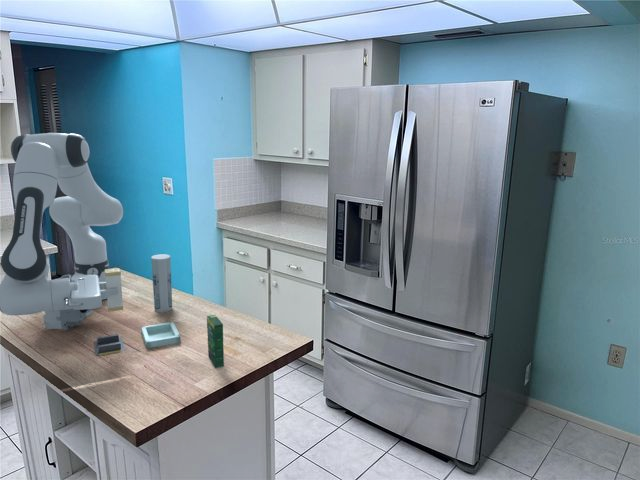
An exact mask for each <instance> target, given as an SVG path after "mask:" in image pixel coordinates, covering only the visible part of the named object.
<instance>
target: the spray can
mask: <svg viewBox="0 0 640 480" xmlns="http://www.w3.org/2000/svg"><path fill="white" fill-rule="evenodd" d="M150 258H151V260H150V261H151V272H152V273H151V275H152V288H153V289H152V290H153V303H154V304H153V305H154V311H156V312H159V313H166V312H169V311H172V309H173V291H172V288H173V287H172V268H171V267H172V266H171V265H172V264H171V263H172V262H171V255H170V254H166V253H165V254H161V253H160V254H159V253H158V254H154V255H152V256H151V257H150Z"/></svg>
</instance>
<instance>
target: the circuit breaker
mask: <svg viewBox="0 0 640 480" xmlns="http://www.w3.org/2000/svg"><path fill="white" fill-rule="evenodd" d="M56 279H59V277H58V278H55V279H54V280H56ZM92 314H94V311H93V309H84V310H74V309H73V308H72V309H67V310H60V311H44V315H42V319H43V325H44V330H47V329H48V330H54V329H55V330H62V331H63V330H64V331H68V330H69V329H71V328H72V327H77V326H78V324H79V325H80V324H82V323H83V320H84V319H85V318H87V317H89V316H91V315H92Z"/></svg>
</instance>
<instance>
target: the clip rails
mask: <svg viewBox="0 0 640 480" xmlns="http://www.w3.org/2000/svg"><path fill="white" fill-rule="evenodd" d="M96 338H97V339H96V340H95V341H93V346H94V355H95V357H98V356H103V355H109V354H114V353H116V354H117V353H121V352H125V351H126V349H125V345H124V341H123V337H122V336H119V334H118V333H116V334H110V335H103V336H97V337H96Z"/></svg>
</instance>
